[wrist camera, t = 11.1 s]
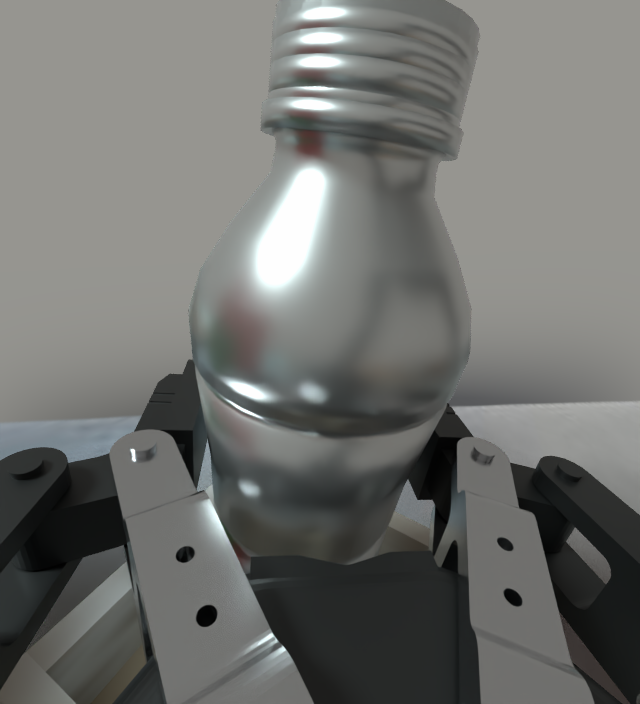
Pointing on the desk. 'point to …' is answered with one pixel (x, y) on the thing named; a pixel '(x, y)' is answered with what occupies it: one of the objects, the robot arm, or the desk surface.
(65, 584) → the robot arm
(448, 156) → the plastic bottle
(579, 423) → the desk surface
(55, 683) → the mounting cradle
